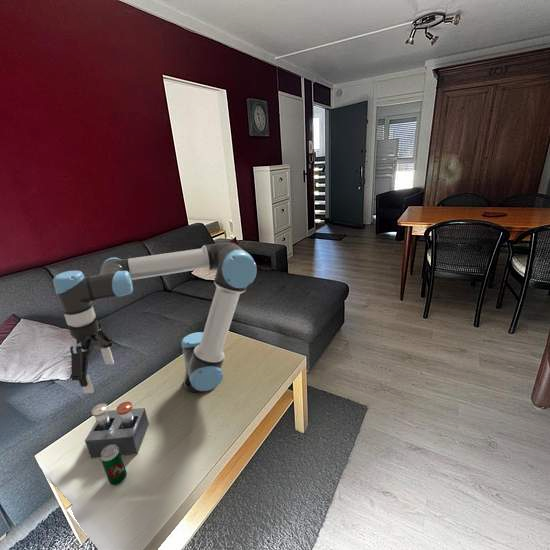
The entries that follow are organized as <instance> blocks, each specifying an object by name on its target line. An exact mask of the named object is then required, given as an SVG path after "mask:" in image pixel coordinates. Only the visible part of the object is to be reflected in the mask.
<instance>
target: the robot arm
mask: <svg viewBox="0 0 550 550" xmlns="http://www.w3.org/2000/svg"><path fill="white" fill-rule="evenodd" d="M204 269H205V270H206V271H216V272H215V273H216V274H215V276H214V280H213V284H214V285H215V287H216V288H215V292H214V294H213V295H214V296H213V298H212V302H211V304H210V309H209V312H208V316H207V319H206V323H205V325H204V328H203V329H204V330H203V332H202V331H198V332H197V331H196V332H192V333H190V334H187V335H186V336H184V337H183V339H181V349H182V353H183V360H184V365H185V366H184V367H185V373H184V377H183V385H184V389H185V390H186V391H187V392H188V393H191V394H195V395H198V394H199V395H201V394H205V393H209V392H210V391H213V390H214V389H215V388H217V387H218V386H219V385H220V384H221V383H222V382H223V378H224V372H223V370H222V365H223V363H224V360H225V357H226V356H225V352H224V351H223V349H224V346H225V342H226V339H227V337H228V333H229V330H230V327H231V325H232V321H233V317H234V315H235V314H234V313H235V311H236V308H237V305H238V302H239V298H240V295H241V294H243V293H245V292H246V290H247V287H248V286H249V285H250V284H252V283H253V282H254V280H255V278H256V277H257V263H256V262H255V260H254V258H253V256H252V255H251V254H250V253H248V251H246V250H245V249H243V248H242V247H241V246H240V245H239V244H237V243H233V242H219V243H218V242H217V243H212V244H211V243H210V244H204V245H203V246H201V248H195V249H186V250H181V251H174V252H168V253H159V254H153V255H145V256H140V257H130V258H123V259H120V258H119V257H110V258H107V259H105V260H104V262H103V263H102V264H101V266H100V271H99V274H95V275H91V276H85V275H84V273H83V272H82V271H81V270H68V271H64V272H63V271H62V272H61V273H58V274H57V275H55V276H54V277H53V279H52V283H53V286H54V290H55V295H56V297H57V299H58V302H59V305H60V308H61V311H62V312H63V316H64V319H65V321H66V324H67V325H68V327H67V328H68V331H69V334H70V336H71V338H73V339H75V340H76V345H75V346H74V345H73V346H70V347H69V348H70V349H69V351H70V353H71V355H70V356H71V362H70V363H71V364H70V365H71V382H72V381H73V382H74V381H78V382H79V385H80V387H81V388H82V391H83V394H93V393H94V392H95V389H94V385H93V383H92V381H91V378H90V375H89V374H88V364H89V358H90V354H91V353H92V349H94V346H96V345H98V346H100V347H101V348H100V350H101V351H100V352H101V355H102V358H103V362H104V363H105V364H104V365H114V364H115V361H114V357H113V354H112V350H111V347H113V345H114V344H113V338H112V337H111V336H110V335H109V333H108V332H107V331H106V330H105V329H104V327H103V324H102V323H98V319H97V318H96V317H97V316H96V312H95V309H94V306H93V303H92V302H96V301H102V300H107V299H114V298H120V297H124V296H127V295H130V294H132V293H133V292H134V288H133V287H134V286H133V280H139V279H147V278H153V277H159V276H164V275H172V274H177V273H183V272H184V273H185V272H189V271H197V270H204Z"/></svg>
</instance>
